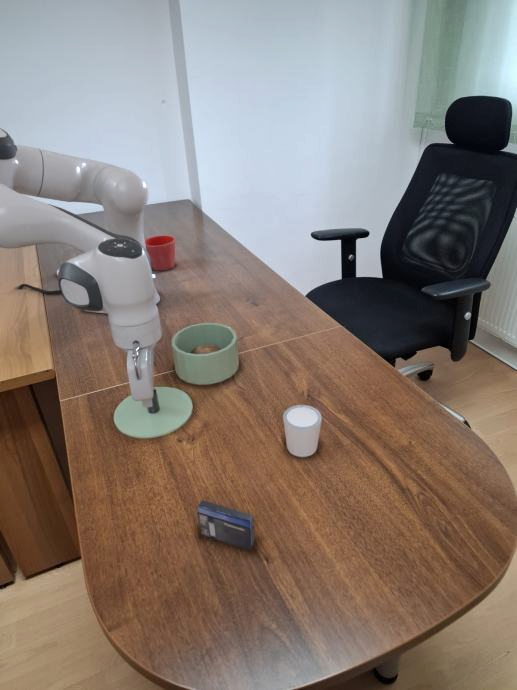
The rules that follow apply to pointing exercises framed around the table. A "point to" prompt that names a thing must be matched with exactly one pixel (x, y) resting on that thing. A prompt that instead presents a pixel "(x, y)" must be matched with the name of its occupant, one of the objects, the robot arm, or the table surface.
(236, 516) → the mini dv tape
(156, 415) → the lid
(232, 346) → the pot
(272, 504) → the table surface
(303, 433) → the white cup
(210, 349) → the mushroom
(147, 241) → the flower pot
